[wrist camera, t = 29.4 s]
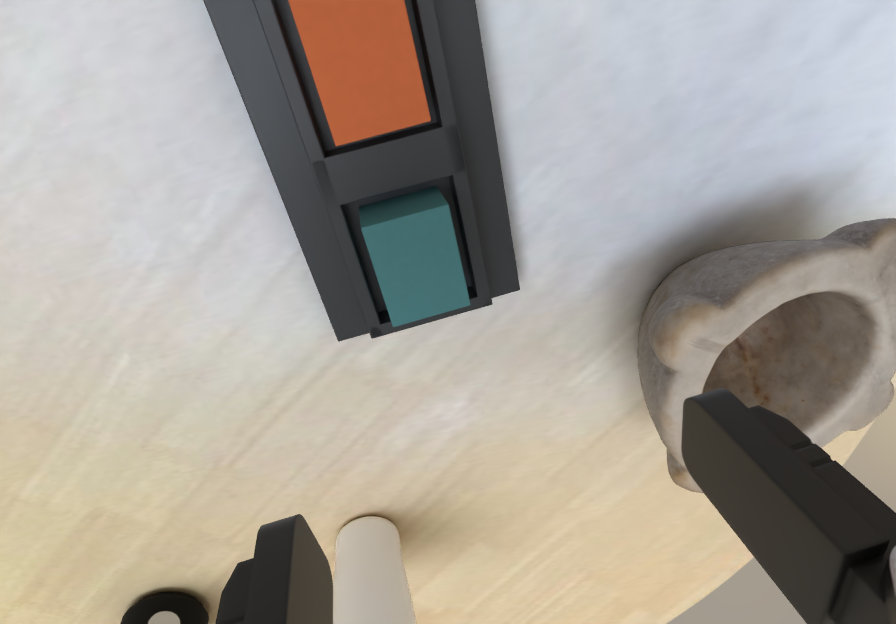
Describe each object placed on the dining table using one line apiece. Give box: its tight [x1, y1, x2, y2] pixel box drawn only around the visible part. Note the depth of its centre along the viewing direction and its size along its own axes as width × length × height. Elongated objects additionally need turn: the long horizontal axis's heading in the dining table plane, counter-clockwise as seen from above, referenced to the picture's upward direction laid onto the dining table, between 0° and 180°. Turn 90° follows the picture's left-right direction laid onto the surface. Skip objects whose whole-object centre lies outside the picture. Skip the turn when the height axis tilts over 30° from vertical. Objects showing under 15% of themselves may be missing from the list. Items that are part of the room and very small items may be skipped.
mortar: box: [638, 218, 896, 493], centre depth 34 cm, size 17×17×9 cm
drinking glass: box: [333, 516, 417, 624], centre depth 37 cm, size 7×7×15 cm
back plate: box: [204, 0, 520, 341], centre depth 27 cm, size 20×12×3 cm, turn 12°
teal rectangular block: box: [359, 186, 470, 327], centre depth 28 cm, size 6×4×4 cm
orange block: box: [288, 0, 431, 146], centre depth 23 cm, size 6×4×4 cm
